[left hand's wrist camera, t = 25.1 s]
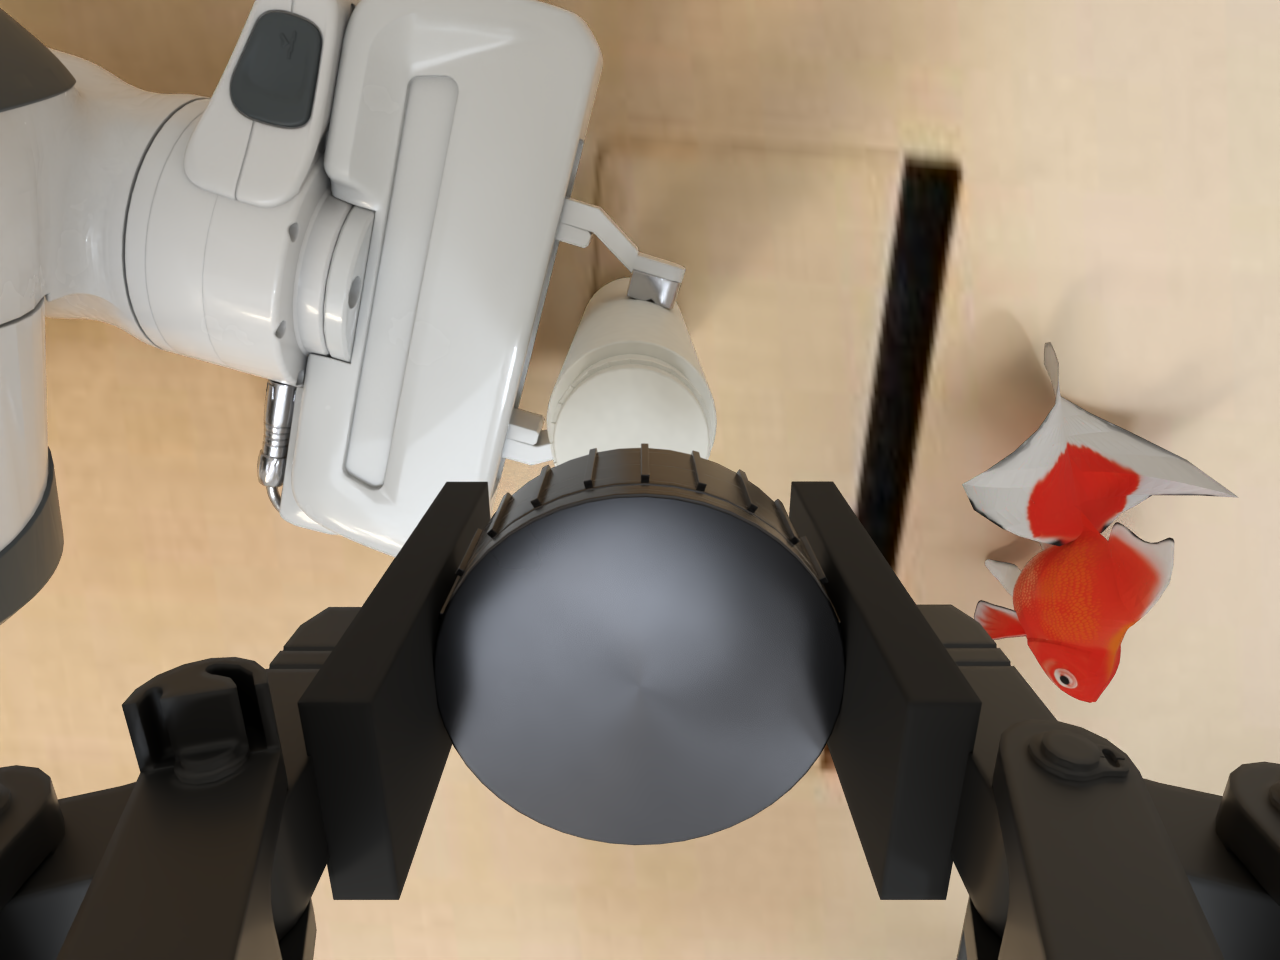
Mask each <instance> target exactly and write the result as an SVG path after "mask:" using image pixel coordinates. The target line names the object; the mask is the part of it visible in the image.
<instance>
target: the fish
mask: <svg viewBox="0 0 1280 960" xmlns="http://www.w3.org/2000/svg"><path fill="white" fill-rule="evenodd" d="M1044 365H1045V368H1046V370H1047V372H1048V374H1049V376H1050V379H1051V382H1052V385H1053V389H1054V393H1055V398H1056V403H1055V405H1054V407H1053V408H1052V410H1051V411H1050V413H1049V414H1048V416H1047V417H1046V419H1045V420H1044V422H1043V423H1042V424H1041V426H1040V427H1039V429H1038V430H1037V431H1035V432H1034V433H1033V434H1032V435H1031V436H1030V437H1029V438H1028V439H1027V440H1026V441H1025V442H1024V443H1023V444H1022V445H1021V446H1020V447H1018V448H1017V449H1016V450H1015V451H1014V452H1013V453H1011V454H1010V455H1009V456H1007V457H1006V458H1004V459H1003V460H1001V461H1000V462H998V463H997V464H995V465H994V466H993V467H991V468H990V469H988V470H987V471H985V472H983V473H981V474H980V475H978V476H976V477H974V478H972V479H971V480H969V481H967V482H965V483H964V484H962V485H963V487H964V489H965V491H966V494H967V496H968V498H969V500H970V502H971V505H972V507H973V509H974V510H975V511H977V512H978V513H980V514H981V515H983V516H984V517H986V518H987V519H989V520H990V521H992V522H993V523H995V524H996V525H998V526H999V527H1001V528H1002V529H1005V530H1007V531H1009V532H1011V533H1013V534H1015V535H1018V536H1020V537H1024V538H1027V539H1031V540H1035V541H1039V543H1040V545H1041V547H1042V550H1043V551H1042V552H1040V553H1038V554H1037V555H1036V556H1034V557H1033V558H1032V559H1031V560H1030V561H1029V562H1028V563H1027V564H1026V566H1025V567H1024V568H1023V570H1022V571H1020V569H1019V568H1018V567H1017V566H1016V565H1014V564H1011V563H1006V562H1000V561H995V560H990V559H988V560H986V561H985V566H986V567H987V568H988V570H989V571H990V572H991V573H992V574H993V575H994V576H995V577H996V578H997V579H998V580H999V582H1000V583H1001V584H1002V586H1003V587H1004V588H1005V589H1006V591H1007V592H1008V593H1009V594H1010V595H1011V596H1012V597H1013V605H1014V610H1015V611H1014V610H1011V609H1008V608H1004V607H1001V606H997V605H994V604H991V603H988V602H985V601H982V600H980V601H979V602H978V604H977V607H976V610H975V614H974V620H976V621H977V622H979V623H980V624H981V625H982V627H983V628H984V629H985V630H986V632H987V633H988V634H989V635H990V637H991V638H992V639H993V640H997V639H1002V638H1010V637H1020V636H1026V637H1027V642H1028V646H1029V648H1030V649H1031V651H1032V652H1033V654H1034V655H1035V657H1036V659H1037V661H1038V662H1039V664H1040V666H1041V667H1042V669H1043V670H1044V672H1045V673H1046V674H1047V676H1048V677H1049V678H1050V680H1051V681H1052V682H1053V683H1054V684H1055V685H1057V686H1058V687H1059V688H1060V689H1061V690H1062V691H1064V692H1065V693H1067V694H1068V695H1070V696H1072V697H1074V698H1076V699H1078V700H1081V701H1085V702H1089V703H1091V702H1096V701H1097V699H1098V698H1099V696H1100V695H1101V694H1102V692H1103V691H1104V690H1105V688H1106V687H1107V686H1108V684H1109V683H1110V681H1111V680H1112V678H1113V677H1114V675H1115V673H1116V670H1117V668H1118V665H1119V662H1120V653H1121V642H1122V640H1123V637H1124V635H1125V633H1126V631H1127V629H1128V628H1129V627H1131V626H1132V625H1134V624H1135V623H1136V622H1137V621H1138V620H1140V619H1141V618H1142V617H1143V616H1144V615H1145V614H1146V613H1147V612H1148V611H1149V610H1150V609H1151V608H1152V607H1153V606H1154V605H1155V603H1156V602H1157V601H1158V600H1159V598H1160V597H1161V595H1162V594H1163V592H1164V591H1165V589H1166V588H1167V586H1168V585H1169V583H1170V578H1171V574H1172V569H1173V562H1174V540H1173V539H1172V538H1167V539H1165V540H1162V541H1160V542H1157V543H1149V542H1146V541H1143V540H1142V539H1140V538H1139V537H1137V536H1136V535H1135V534H1134V533H1133V532H1131V531H1130V530H1129V529H1128V528H1126V527H1125V526H1124V525H1122V524H1120V523H1118V522H1116V523H1115V524H1114V526H1113V528H1112V530H1111V533H1110V537H1109V540H1107V539H1106V538H1105V537H1103V536H1102V535H1101V534H1100V533H1102V532H1103V531H1104V530H1105V529H1106V528H1107V527H1108V526H1109V525H1110V524H1111V523H1112V522H1113V521H1114V520H1115V519H1116V518H1117V517H1118V516H1119V515H1120V514H1121V513H1122V512H1124V511H1126V510H1128V509H1130V508H1132V507H1134V506H1136V505H1137V504H1139V503H1140V502H1142V501H1144V500H1145V499H1147V498H1148V497H1150V496H1152V495H1204V496H1222V497H1237V496H1236V495H1235V494H1233V493H1232V492H1230V491H1229V490H1228V489H1226V488H1225V487H1223V486H1222V485H1221V484H1219V483H1218V482H1217V481H1215V480H1214V479H1212V478H1211V477H1210V476H1208V475H1207V474H1205V473H1204V472H1203V471H1201V470H1200V469H1198V468H1197V467H1196V466H1194V465H1193V464H1192V463H1190V462H1189V461H1187V460H1186V459H1184V458H1182V457H1180V456H1178V455H1176V454H1174V453H1172V452H1169V451H1167V450H1165V449H1163V448H1161V447H1159V446H1157V445H1155V444H1153V443H1151V442H1149V441H1147V440H1145V439H1143V438H1141V437H1139V436H1137V435H1135V434H1133V433H1131V432H1129V431H1127V430H1125V429H1123V428H1121V427H1119V426H1116V425H1114V424H1112V423H1110V422H1108V421H1106V420H1104V419H1101V418H1099V417H1097V416H1095V415H1093V414H1091V413H1089V412H1087V411H1086V410H1084V409H1082V408H1080V407H1079V406H1077V405H1075V404H1073V403H1072V402H1070V401H1068V400H1066V399H1065V398H1063V397H1061V396H1060V388H1059V363H1058V360H1057V357H1056V354H1055V351H1054V349H1053V347H1052V345H1051V343H1050V342H1049V343H1045V348H1044Z"/></svg>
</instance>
